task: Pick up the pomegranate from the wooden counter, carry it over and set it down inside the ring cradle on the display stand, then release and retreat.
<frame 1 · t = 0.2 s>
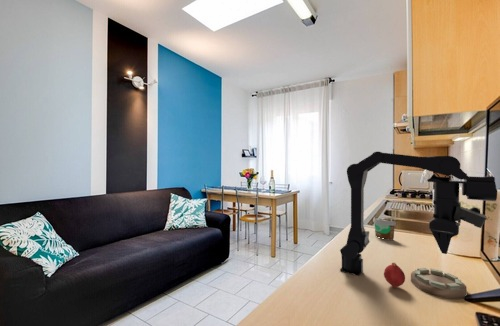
hand: (445, 249, 70), 14 cm above the kitchen counter, fingers open, 9 cm apart
pomegranate: (394, 287, 75), on the kitchen counter
food container: (381, 238, 125), on the kitchen counter
display stand: (437, 286, 75), on the kitchen counter
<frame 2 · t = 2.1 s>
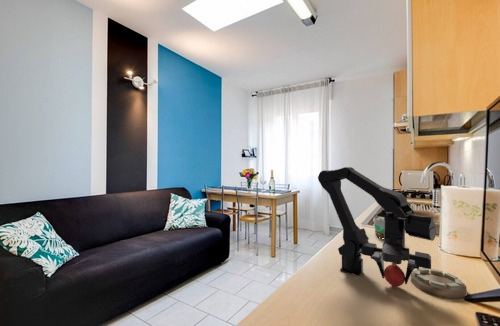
hand: (394, 280, 75), 2 cm above the kitchen counter, fingers closed on pomegranate, 6 cm apart
pomegranate: (394, 287, 75), on the kitchen counter, touching gripper
everything else where it was.
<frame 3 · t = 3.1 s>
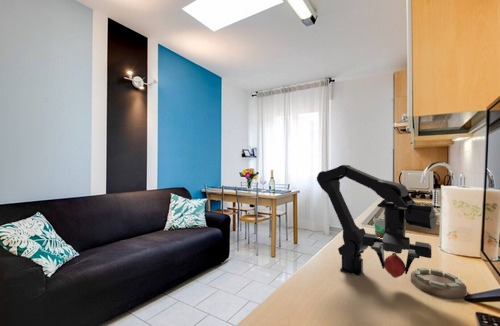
hand: (394, 271, 75), 5 cm above the kitchen counter, fingers closed on pomegranate, 6 cm apart
pomegranate: (394, 278, 75), point 3 cm above the kitchen counter, touching gripper
everything else where it was.
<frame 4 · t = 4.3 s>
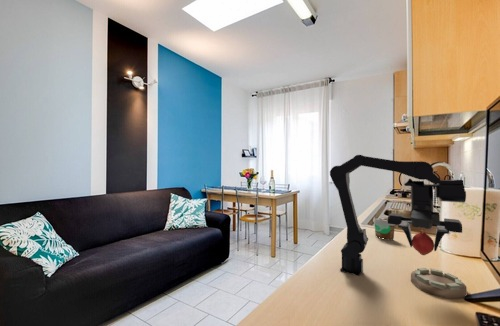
hand: (422, 248, 75), 12 cm above the kitchen counter, fingers closed on pomegranate, 6 cm apart
pomegranate: (423, 255, 75), point 10 cm above the kitchen counter, touching gripper
everything else where it was.
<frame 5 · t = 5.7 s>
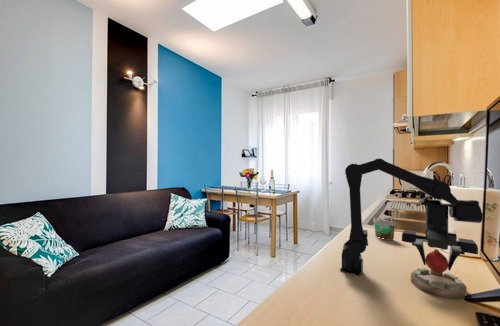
hand: (436, 267, 75), 6 cm above the kitchen counter, fingers closed on pomegranate, 6 cm apart
pomegranate: (436, 274, 75), point 4 cm above the kitchen counter, touching gripper
everything else where it was.
when the fingers open (5 cm above the kitchen counter, at t = 6.7 s): pomegranate drops 1 cm, resting on display stand.
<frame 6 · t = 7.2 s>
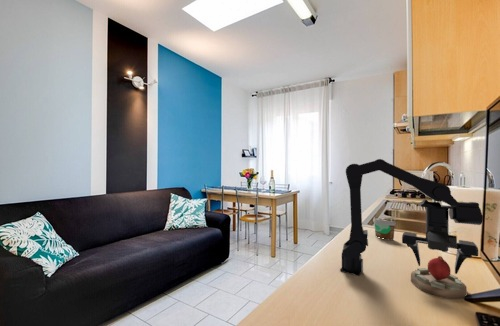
hand: (436, 269, 75), 5 cm above the kitchen counter, fingers open, 9 cm apart
pomegranate: (436, 280, 75), point 2 cm above the kitchen counter, touching display stand
everything else where it was.
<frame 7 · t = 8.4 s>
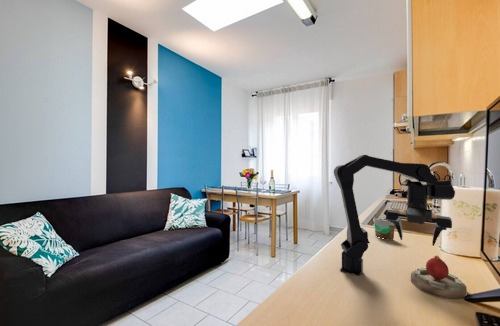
hand: (416, 242, 83), 12 cm above the kitchen counter, fingers open, 9 cm apart
nothing on the kitchen counter moved.
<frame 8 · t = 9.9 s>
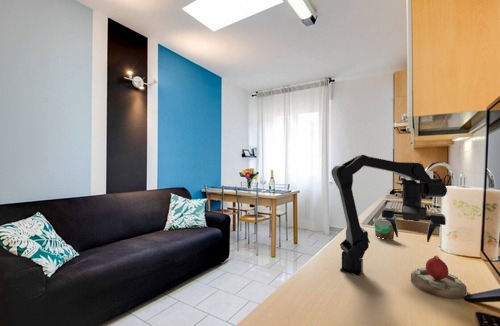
hand: (411, 239, 85), 12 cm above the kitchen counter, fingers open, 9 cm apart
nothing on the kitchen counter moved.
at the end: pomegranate 0.1 cm off-centre on the display stand, point 1.8 cm above the display stand's base; the gripper is holding nothing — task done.
